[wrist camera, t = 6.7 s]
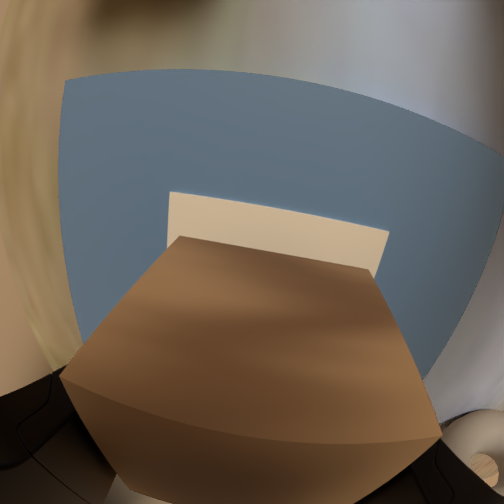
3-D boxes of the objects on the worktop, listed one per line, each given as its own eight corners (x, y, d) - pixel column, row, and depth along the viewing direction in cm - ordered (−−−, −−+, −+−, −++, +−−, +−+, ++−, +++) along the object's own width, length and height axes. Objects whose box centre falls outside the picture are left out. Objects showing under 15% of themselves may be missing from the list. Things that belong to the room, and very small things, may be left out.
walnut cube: (368, 269, 7) (442, 435, 2) (317, 391, 9) (321, 520, 4) (179, 235, 7) (58, 375, 3) (178, 367, 9) (129, 489, 5)
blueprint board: (501, 159, 7) (515, 163, 6) (382, 416, 13) (385, 429, 12) (78, 82, 7) (63, 80, 7) (99, 366, 13) (92, 377, 12)
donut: (519, 385, 11) (562, 480, 2) (498, 413, 13) (531, 502, 4) (418, 416, 13) (448, 555, 3) (399, 443, 14) (418, 563, 5)
